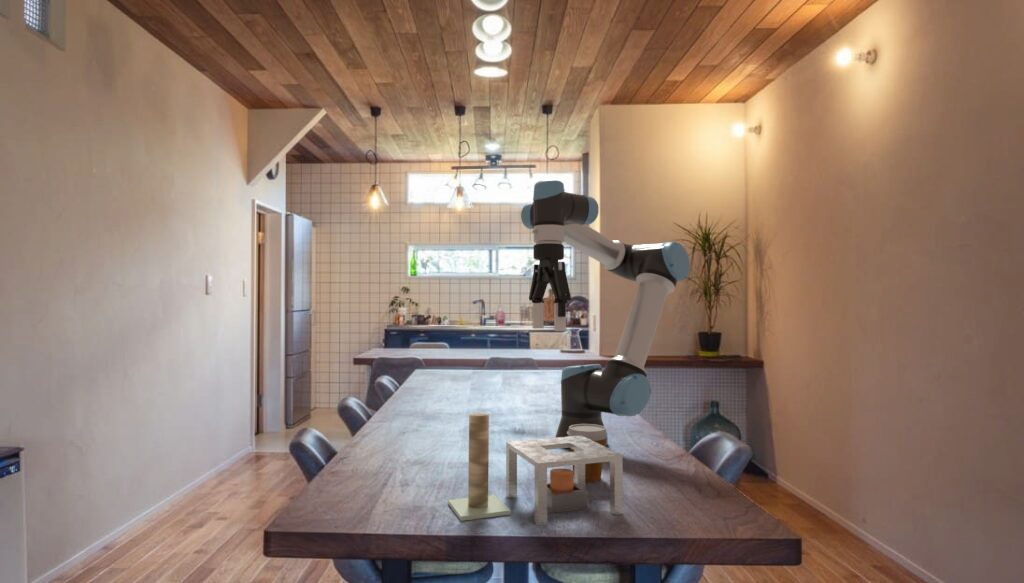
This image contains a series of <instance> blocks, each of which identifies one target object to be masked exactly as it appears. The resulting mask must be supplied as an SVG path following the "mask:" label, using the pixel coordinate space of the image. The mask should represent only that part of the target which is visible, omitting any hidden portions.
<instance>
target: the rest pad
mask: <svg viewBox="0 0 1024 583" xmlns="http://www.w3.org/2000/svg"><path fill="white" fill-rule="evenodd" d="M447 504H448V506H450V508H451V510H452V511H453V512H454V513H455V515H456V516H457V518H458V519H459V521H461V522H462V521H470V520H478V519H485V518H486V519H487V518H493V517H500V516H501V517H503V516H509V515H511V509H509V508H508V507H507V505H506V504H505V503H503V501H502V500H500V498H498V497H497V496H496V495H495V494H491V495H490V494H488V506H487V507H485V508H471V507H469V506H468V497H462V498H455V499H448V501H447Z"/></svg>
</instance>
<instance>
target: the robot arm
mask: <svg viewBox="0 0 1024 583" xmlns="http://www.w3.org/2000/svg"><path fill="white" fill-rule="evenodd" d="M599 208H600V207H599V203H598V202H597V200H596V199H595V198H594V197H593V196H589V195H586V194H578V193H572V192H571V193H570V192H567V191H566V189H565V186H564V182H562V181H561V180H557V179H556V180H555V179H546V180H545V179H544V180H540V181H537V182H536V183H534V187H533V198H532V201H531V202H529V203H526V204H525V205H524V206H523V207H522V208H521V213H520V218H521V222H522V224H523V226H524V227H525V228H526V229H529V230H532V231H531V232H532V234H533V242H534V245H533V259H534V260H535V261H539V264H533V274H532V280H531V285H530V290H529V295H528V300H529V301H531V303H532V329H544V316H545V315H544V312H545V311H544V310H545V309H544V303H545V300H544V296H545V294H546V290H547V287H548V285H550V288H551V291H552V294H553V296H554V300H553V303H554V304H553V307H554V308H553V310H554V311H553V312H554V313H553V316H554V317H553V319H554V320H553V322H554V323H553V329H554V331H555V332H566V331H567V303H568V301H571V299H572V297H571V291H570V288H569V287H570V286H569V283H568V282H569V281H568V277H567V273H566V263H565V261H561V260H563V259H564V258H565V253H564V252H565V245H564V244H563V243H566V244H567V245H569V246H571V247H572V248H574V249H575V250H576V251H577V250H578V251H579V252H581V253H583V254H584V255H586V256H588V257H590V258H591V259H594V260H595V261H597V262H599V264H600V266H601V267H602V268H603V269H605V270H607V272H610V273H611V274H614V275H616V276H617V277H621V278H623V279H625V280H628V281H631V282H636V283H637V284H638V287H637V290H636V293H635V296H634V299H633V302H632V304H631V308H630V311H629V313H628V315H627V316H628V317H627V320H626V322H625V325H624V328H623V331H622V334H621V336H620V340H619V342H618V346H617V348H616V350H615V354H614V357H611V358H609V359H608V360H607V361H606V363H605V367H604V369H603V367H602V365H601V364H600V363H592V364H582V365H581V364H580V365H570V366H566V367H564V368H562V371H561V380H560V386H561V388H560V392H561V395H560V397H561V398H560V400H561V402H560V404H561V417H560V421H559V423H558V427H557V429H556V432H555V438H557V437H568V434H567V431H568V430H569V426H571V425H576V424H595V425H601V426H604V427H605V425H604V422H603V418H602V413H606V414H610V415H611V414H612V415H616V416H618V417H636V416H637V415H639V414H640V413H642V412H643V411H644V410H645V409H646V408H647V405H648V404H649V401H650V399H651V398H650V397H651V393H652V391H651V382H650V381H649V379H648V378H647V377H648V372H647V371H646V369H645V364H646V362H647V359H648V356H649V353H650V349H651V346H652V343H653V341H654V337H655V334H656V332H657V331H656V330H657V327H658V325H659V323H660V322H659V321H660V319H661V315H662V312H663V309H664V306H665V304H666V299H667V298H668V295H670V294H672V293H673V292H674V291H675V289H676V286H677V284H678V282H684V281H685V280H686V279H687V278H688V277H689V274H690V271H691V270H690V268H691V267H690V266H691V265H690V258H689V255H688V252H687V250H686V248H685V246H683V245H682V244H681V243H679V242H677V241H663V242H655V243H640V244H639V243H638V244H627V243H624V242H622V241H620V240H613V239H610V238H608V236H605V235H604V234H602V233H600V232H599V231H597V230H595V229H594V228H592V227H590V226H589V225H590V224H593V223H594V222H595V221H596V220H597V218H598V216H599ZM535 243H536V244H535ZM607 446H608V436H607V437H606V439H605V447H607ZM568 449H570V448H568ZM570 450H571V449H570Z"/></svg>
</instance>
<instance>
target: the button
mask: <svg viewBox="0 0 1024 583" xmlns="http://www.w3.org/2000/svg"><path fill="white" fill-rule="evenodd" d="M549 478H550V479H549V480H550V481H549V482H550V489H551V490H552V491H553V492H555V493H557V492H565V491H573V490H574V472H573V469H569V468H559V467H558V468H554V469H551V470H550V473H549Z"/></svg>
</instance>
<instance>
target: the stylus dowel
mask: <svg viewBox="0 0 1024 583" xmlns="http://www.w3.org/2000/svg"><path fill="white" fill-rule="evenodd" d="M489 432H490V415H489V414H488V413H483V412H481V413H480V412H476V413H469V415H468V480H467V481H468V483H467V484H468V485H467V487H468V488H467V489H468V492H467V494H468V496H467V498H468V506H469V507H471V508H485V507H487V506H488V495H489V461H490V460H489V454H490V453H489V450H490V449H489V445H490V442H489V440H490V439H489V438H490V434H489Z"/></svg>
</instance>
